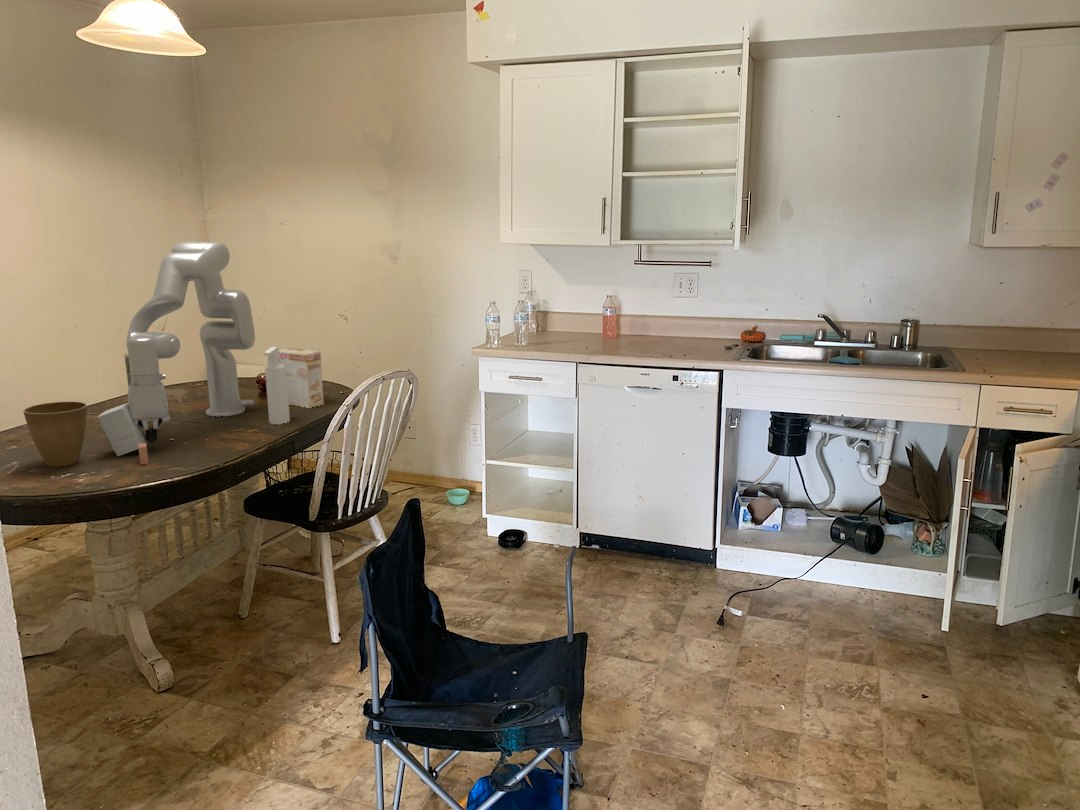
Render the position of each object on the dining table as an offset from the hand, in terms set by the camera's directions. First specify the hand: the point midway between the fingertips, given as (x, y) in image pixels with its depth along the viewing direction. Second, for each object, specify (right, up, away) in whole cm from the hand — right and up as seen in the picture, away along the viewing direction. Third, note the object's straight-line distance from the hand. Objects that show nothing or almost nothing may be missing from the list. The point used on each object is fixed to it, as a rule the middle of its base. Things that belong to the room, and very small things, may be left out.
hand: (152, 441), depth 234 cm
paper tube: (-11, +2, +19) cm, 22 cm away
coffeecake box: (+27, +11, +55) cm, 62 cm away
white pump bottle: (+27, +5, +32) cm, 42 cm away
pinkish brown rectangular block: (-3, -2, 0) cm, 4 cm away
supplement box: (-4, -2, -2) cm, 5 cm away
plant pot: (-19, -6, -12) cm, 23 cm away
